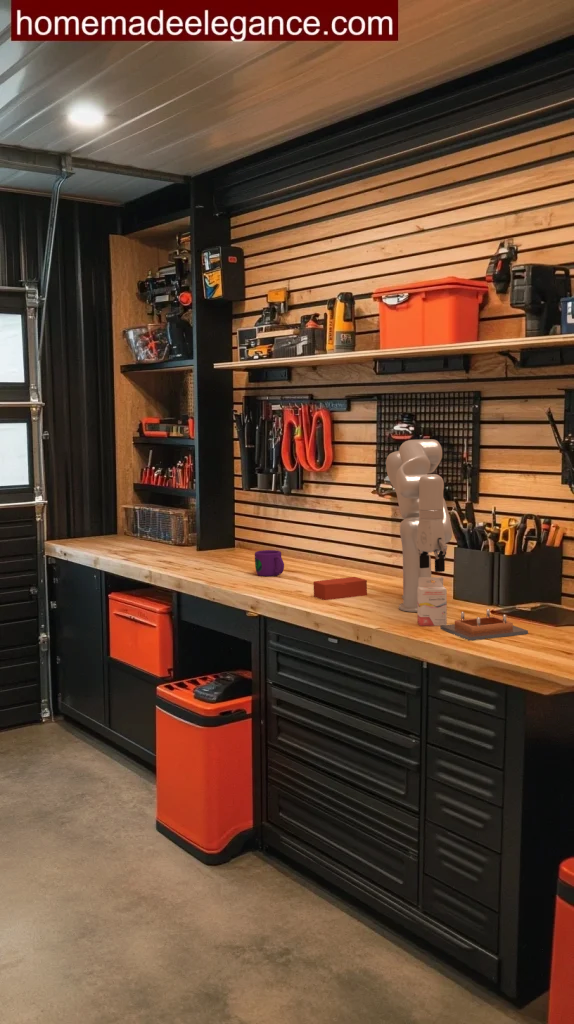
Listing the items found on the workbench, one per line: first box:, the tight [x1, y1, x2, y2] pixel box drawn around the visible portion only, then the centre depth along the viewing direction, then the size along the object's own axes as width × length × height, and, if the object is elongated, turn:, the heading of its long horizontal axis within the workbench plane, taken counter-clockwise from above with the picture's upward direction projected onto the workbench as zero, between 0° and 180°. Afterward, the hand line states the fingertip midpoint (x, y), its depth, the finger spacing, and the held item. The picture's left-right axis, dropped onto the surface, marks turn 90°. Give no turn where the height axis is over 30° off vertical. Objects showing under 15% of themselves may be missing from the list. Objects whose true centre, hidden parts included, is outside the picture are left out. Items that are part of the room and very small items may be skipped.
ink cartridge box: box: [416, 576, 448, 627], centre depth 285 cm, size 9×5×15 cm, turn 92°
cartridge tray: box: [439, 608, 529, 641], centre depth 274 cm, size 17×20×6 cm
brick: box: [313, 576, 368, 601], centre depth 337 cm, size 18×9×6 cm, turn 117°
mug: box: [254, 549, 285, 577], centre depth 385 cm, size 17×11×10 cm, turn 34°
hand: (432, 569), depth 284 cm, fingers open, 9 cm apart
